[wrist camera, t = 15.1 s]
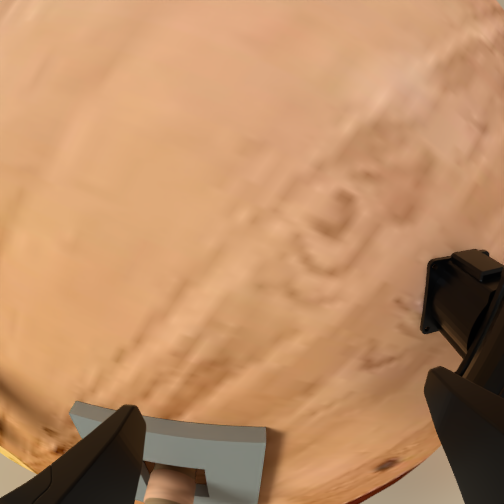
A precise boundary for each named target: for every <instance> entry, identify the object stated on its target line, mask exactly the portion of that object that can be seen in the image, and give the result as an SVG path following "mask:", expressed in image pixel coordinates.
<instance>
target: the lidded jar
mask: <svg viewBox="0 0 504 504" xmlns="http://www.w3.org/2000/svg"><path fill="white" fill-rule="evenodd" d="M195 477H196V468H187V467H180V466H173V465H167V464H161V463H155V466H154V470H153V471H152V472H151V474H150V478H149V481H148V485H147V489H146V493H145V496H144V503H145V504H193V502H194V495H195V489H196V482H195Z"/></svg>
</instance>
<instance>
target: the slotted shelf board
mask: <svg viewBox="0 0 504 504" xmlns="http://www.w3.org/2000/svg"><path fill="white" fill-rule="evenodd" d="M114 412H116V410H111V409H107V408H102V407H98V406H94V405H90V404H86V403H82V402H79V401H76V402H75V403H74V405H73V407H72V408H71V410H70V412H69V415H70V417H71V419H72V421H73V423H74V424H75V426H76V428H77V430H78V432H79V434H80V436H81V438H82V439H83V438H84V437H85V436H87V435H88V434H89V433H90V432H92V431H93V430H94V429H95V428H96V427H98V426H99V425H100V424H101V423H102V422H104V421H105V420H106V419H107V418H108V417H110V416H111V415H112V414H113V413H114ZM143 418H144V420H145V422H146V436H145V445H144V454H143V460H144V461H150V462H155V463H161V464H167V465H173V466H180V467H187V468H196V469H205V475H206V481H207V485H203V484H196V489H195V495H194V502H193V504H258V497H259V490H260V484H261V477H262V470H263V463H264V456H265V448H266V427H242V426H224V425H210V424H199V423H190V422H181V421H173V420H166V419H159V418H153V417H147V416H143ZM144 461H143V463H142V470H141V474H140V479H139V483H138V488H137V493H136V497H135V500H138V501H142V502H144V496H145V493H146V489H147V485H148V481H149V478H150V474H149V472H148V470H147V468H146V465H145V463H144Z"/></svg>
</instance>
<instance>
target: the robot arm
mask: <svg viewBox="0 0 504 504" xmlns="http://www.w3.org/2000/svg"><path fill="white" fill-rule="evenodd" d="M434 264H435V267H434V268H432V267H433V265H434ZM426 327H427V328H426ZM425 328H426V329H425ZM420 330H421V332H422V333H423V334H428V333H432V332H436V331H440V332H441V333H442V334H443V336H444V337H445V338H446V339H447V340H448V341H449V343H450V344H451V345H452V346H453V347H454V348H455V350H456V351H457V352H458V353H459V354H460V356H461V357H462V358H463V361H462V363H461V364H460V366H459V368H458V370H457V371H456V372H452V371H450V370H448V369H446V368H444V367H442V366H439V367H436V368H433V369H430V370H429V372H428V375H427V379H426V383H425V386H424V395H425V398H426V401H427V404H428V407H429V410H430V413H431V416H432V419H433V423H434V426H435V429H436V432H437V434H438V437H439V439H440V442H441V444H442V446H443V449H444V451H445V453H446V456H447V458H448V461H449V463H450V466H451V468H452V471H453V473H454V476H455V478H456V481H457V483H458V486H459V489H460V491H461V494H462V497H463V500H464V502H465V504H504V265H502V264H500V263H499V262H497V261H495V260H494V259H492V258H490V257H489V252H487V251H486V250H480V251H478V250H476V249H472V250H466V251H461V252H455V253H453V254H452V255H451V256H447V257H441V258H435V259H432V260H430V261H429V263H428V265H427V276H426V287H425V296H424V304H423V312H422V319H421V326H420ZM145 436H146V422H145V420H144V418H143V416H142V414H141V412H140V411H139V409H138V407H137V406H136V405H123V406H121V407H120V408H119V409H118V410H117V411H116V412H114V413H113V414H112V415H111V416H110V417H108V418H107V419H106V420H105V421H104V422H102V423H101V424H100V425H99V426H98V427H96V428H95V429H94V430H93V431H92V432H90V433H89V434H88V435H87V436H85V437H84V438H83V439H82V440H81V441H79V442H78V443H77V444H76V445H74V446H73V447H72V448H71V449H69V450H68V451H67V452H66V453H65V454H63V455H62V456H61V457H60V458H58V459H57V460H56V461H55V462H53V463H52V464H51V465H49V466H48V467H47V468H46V469H44V470H43V471H42V472H40V473H39V474H38V475H36V476H35V477H34V478H32V479H31V480H29V481H28V482H26V483H24V484H23V485H21V486H20V487H18V488H16V489H15V490H13V491H11V492H10V493H8V494H6V495H4V496H3V497H1V498H0V504H134V502H135V497H136V493H137V488H138V483H139V479H140V474H141V470H142V463H143V454H144V445H145Z"/></svg>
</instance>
